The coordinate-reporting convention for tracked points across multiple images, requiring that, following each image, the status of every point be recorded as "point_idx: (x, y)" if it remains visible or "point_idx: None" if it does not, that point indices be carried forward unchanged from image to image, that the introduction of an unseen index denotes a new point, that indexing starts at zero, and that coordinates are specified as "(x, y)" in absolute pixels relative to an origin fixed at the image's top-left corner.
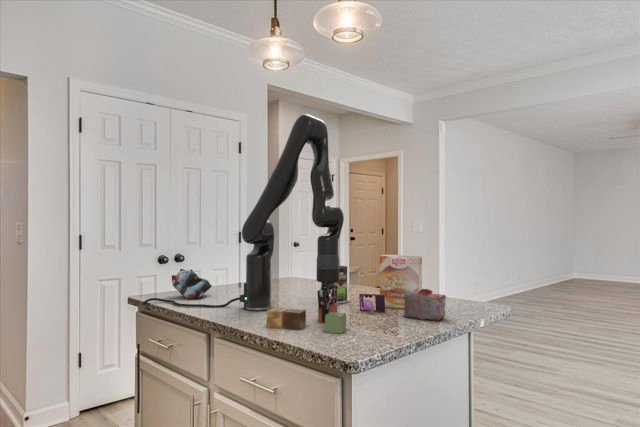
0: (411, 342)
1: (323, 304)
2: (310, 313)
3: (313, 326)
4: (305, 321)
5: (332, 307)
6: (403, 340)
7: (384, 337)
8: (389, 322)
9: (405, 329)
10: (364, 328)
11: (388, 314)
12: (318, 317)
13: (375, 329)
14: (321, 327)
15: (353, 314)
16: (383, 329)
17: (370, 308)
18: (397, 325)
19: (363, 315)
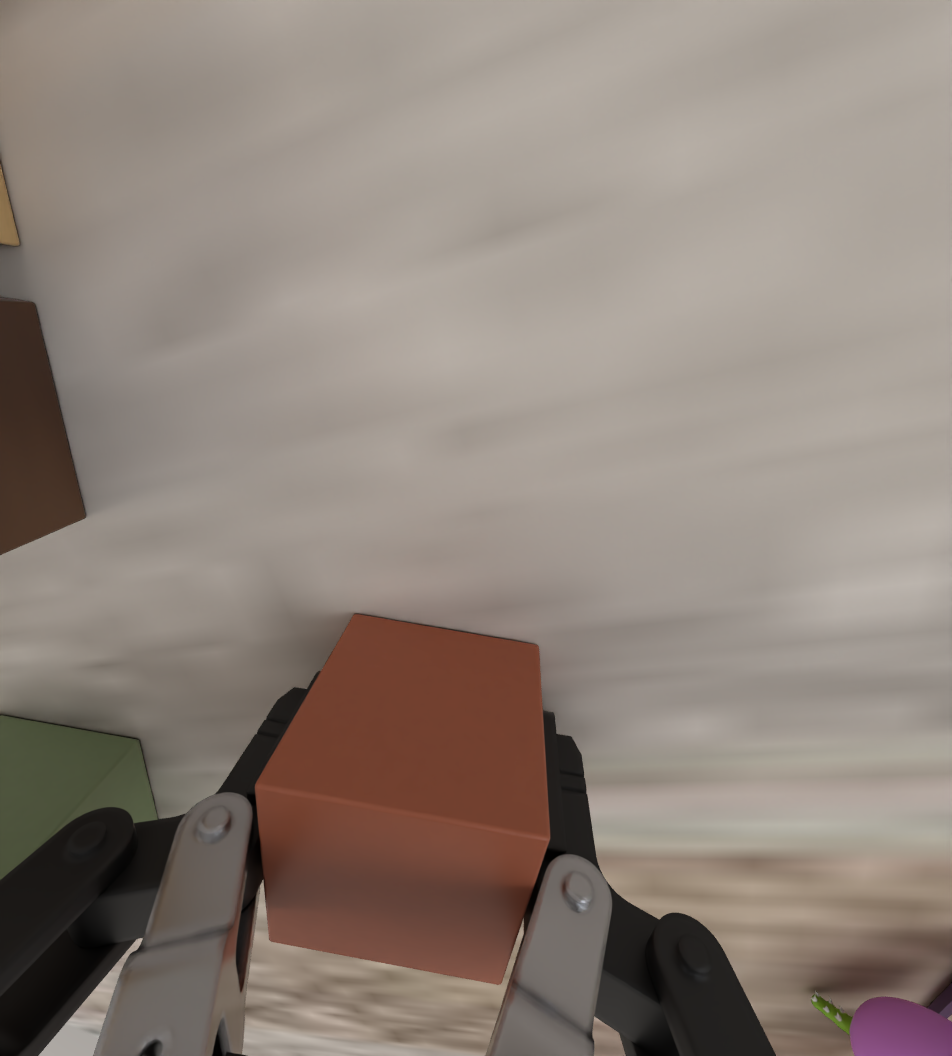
0: (91, 1032)
1: (457, 846)
2: (930, 417)
3: (129, 596)
4: (17, 541)
5: (271, 936)
6: (104, 1018)
7: (108, 973)
8: (492, 1025)
9: (332, 1051)
10: (263, 917)
11: (777, 1051)
12: (334, 650)
13: (265, 958)
14: (133, 670)
15: (793, 880)
16: (285, 986)
17: (853, 1048)
18: (418, 1041)
19: (739, 936)
